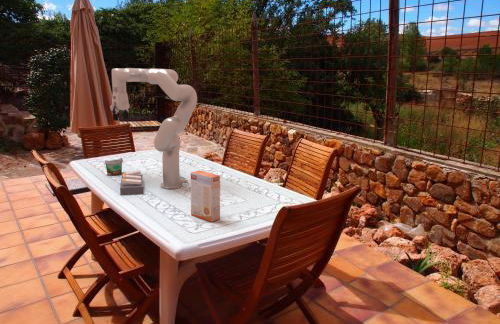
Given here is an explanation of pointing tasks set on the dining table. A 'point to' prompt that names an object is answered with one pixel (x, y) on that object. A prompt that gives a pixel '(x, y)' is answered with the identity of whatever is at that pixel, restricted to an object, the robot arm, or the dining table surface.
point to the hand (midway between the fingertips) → (120, 119)
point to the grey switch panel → (131, 187)
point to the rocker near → (131, 181)
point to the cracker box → (205, 195)
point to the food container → (114, 167)
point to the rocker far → (132, 173)
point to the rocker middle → (131, 177)
